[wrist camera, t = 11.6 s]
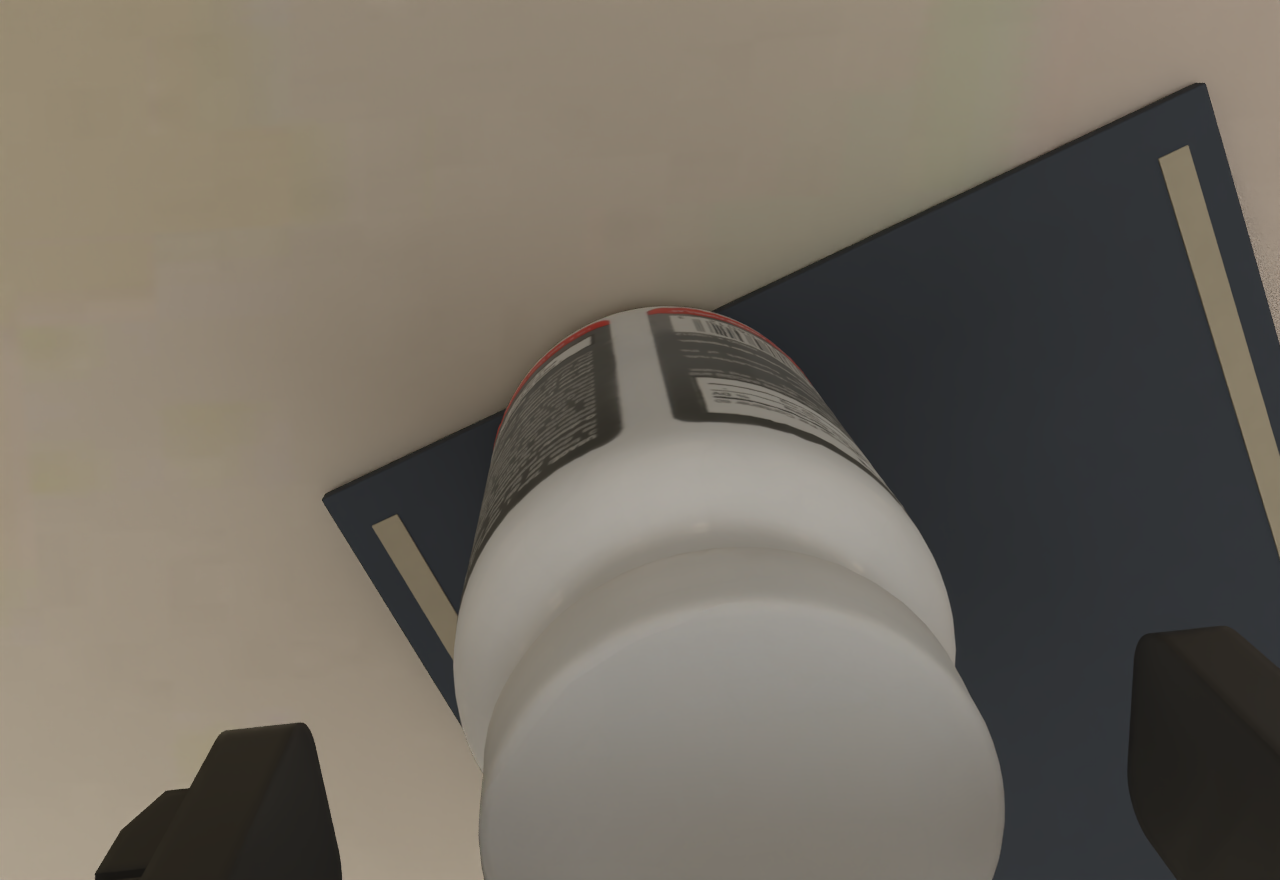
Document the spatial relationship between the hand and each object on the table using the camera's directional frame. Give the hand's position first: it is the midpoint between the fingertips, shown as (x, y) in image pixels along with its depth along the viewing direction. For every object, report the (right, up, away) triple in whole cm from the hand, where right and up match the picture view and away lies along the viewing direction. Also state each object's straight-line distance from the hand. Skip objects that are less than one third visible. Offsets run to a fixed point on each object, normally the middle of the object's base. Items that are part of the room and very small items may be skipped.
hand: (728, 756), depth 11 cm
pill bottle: (-1, +3, +9) cm, 9 cm away
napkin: (+4, -1, +10) cm, 11 cm away
